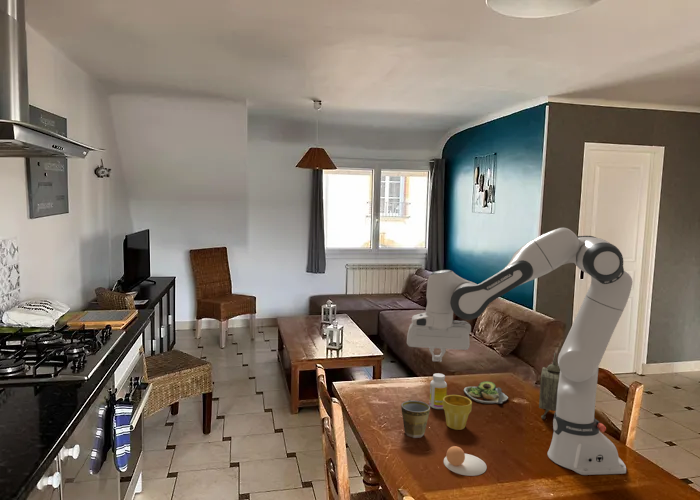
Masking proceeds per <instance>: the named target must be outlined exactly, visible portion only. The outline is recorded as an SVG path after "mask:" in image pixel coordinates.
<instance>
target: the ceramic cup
mask: <svg viewBox="0 0 700 500" xmlns="http://www.w3.org/2000/svg"><path fill="white" fill-rule="evenodd" d="M400 405H401V408H400V409H401V415H402V421H403V429H404V433H405V434H406V436H407V437H410V438H413V439H418V438H419V439H420V438H422V437H423V436H424V435H425V433H426V428H427V423H428V420H429V415H430V410H431V406H430V404H428V403H426V402H424V401H421V400H411V399H408V400H406V401H404V402H402V403H401V404H400Z"/></svg>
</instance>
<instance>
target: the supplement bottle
mask: <svg viewBox="0 0 700 500" xmlns="http://www.w3.org/2000/svg"><path fill="white" fill-rule="evenodd" d="M432 378H433V379H432V380H431V381H430V383H429V404H428V405H429V406H430V408H433V409H435V410H444V409H443V398H444V397H445V396H448V393H447V391H448V383H447V382H446V381H445V379H446V375H445V374H443V373H439V372H438V373H433V375H432Z"/></svg>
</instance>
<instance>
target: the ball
mask: <svg viewBox="0 0 700 500" xmlns="http://www.w3.org/2000/svg"><path fill="white" fill-rule="evenodd" d="M464 453H465V452H464V450H463V449H462V448H461V446H460V447H459V446H455V445H452V446H451V447H449V448H448V449H447V451H446V454H445V455H446V456H445V457H447V460H448V462H449V463H450V464H452V465H454V466H459V465H461V464H462V463H463V462H464V460H465V454H466V453H465V454H464Z"/></svg>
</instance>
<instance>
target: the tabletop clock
mask: <svg viewBox="0 0 700 500" xmlns="http://www.w3.org/2000/svg"><path fill="white" fill-rule="evenodd" d="M556 354H557V352H554V353H553V360H552V363H550V364H549V365H547V367H545V366H543V367H542V369H541V375H540V384H539V385H540V386H539V388H540V389H539V399H538V400H539V401H538V403H539V404H538V409H541V410H545V411H544V414H542V415H541V416H540V417H541V419H542V420H545V419H547V417H546V415H547V413H548V412H550V411H554V412H556V405H557V391H558V383H559V376H560V368H559V365H558V364H557V360H556V356H557V355H556Z"/></svg>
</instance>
